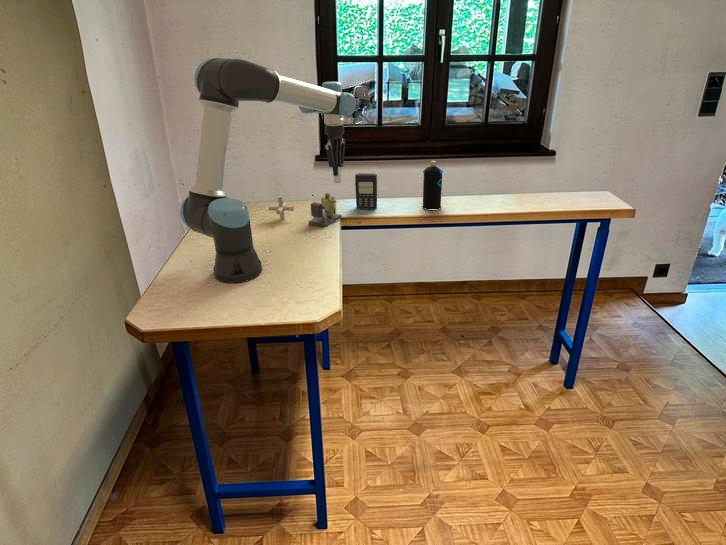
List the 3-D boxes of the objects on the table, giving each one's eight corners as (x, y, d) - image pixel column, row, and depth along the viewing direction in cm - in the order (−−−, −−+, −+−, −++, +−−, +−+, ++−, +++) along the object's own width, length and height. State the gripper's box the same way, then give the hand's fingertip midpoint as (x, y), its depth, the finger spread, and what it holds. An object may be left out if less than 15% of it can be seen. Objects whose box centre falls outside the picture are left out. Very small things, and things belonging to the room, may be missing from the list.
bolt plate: (325, 227, 187) (323, 207, 183) (308, 224, 191) (307, 204, 187) (341, 218, 196) (340, 198, 193) (325, 215, 200) (324, 195, 196)
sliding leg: (333, 215, 193) (332, 196, 189) (322, 213, 196) (320, 194, 192) (338, 213, 196) (337, 194, 192) (327, 211, 199) (325, 192, 195)
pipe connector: (297, 215, 200) (295, 192, 196) (291, 224, 192) (289, 200, 187) (274, 215, 201) (271, 192, 197) (267, 224, 192) (264, 200, 188)
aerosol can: (422, 210, 202) (424, 163, 193) (421, 204, 209) (422, 159, 200) (442, 210, 202) (444, 163, 193) (440, 204, 209) (442, 158, 200)
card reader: (355, 209, 206) (354, 175, 199) (356, 206, 209) (355, 172, 202) (376, 209, 205) (376, 175, 198) (377, 206, 208) (377, 172, 201)
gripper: (333, 127, 180) (336, 188, 191) (350, 121, 190) (353, 179, 201) (316, 126, 183) (321, 185, 194) (335, 120, 193) (338, 177, 204)
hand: (337, 182), depth 197 cm, fingers closed
